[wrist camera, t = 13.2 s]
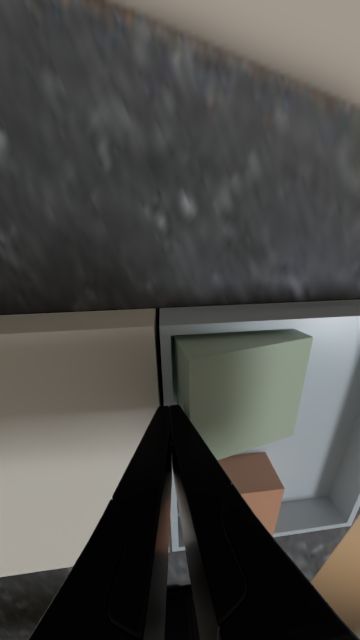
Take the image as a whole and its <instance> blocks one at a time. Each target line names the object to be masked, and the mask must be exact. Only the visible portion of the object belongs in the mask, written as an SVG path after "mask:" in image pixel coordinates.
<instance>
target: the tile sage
mask: <svg viewBox="0 0 360 640" xmlns="http://www.w3.org/2000/svg"><path fill="white" fill-rule="evenodd" d="M173 340H174V359H175V377H176V396H177V404H178V405H180V406H181V408H182V409H183V411H184V412H185V414H186V415H187V416H188V418H189V419H190V421H191V422H192V424H193V425H194V427H195V428H196V430H197V431H198V433H199V434H200V436H201V437H202V438H203V440H204V441H205V443H206V444H207V446H208V447H209V449H210V450H211V452H212V453H213V455H214V456H215V458H216V459H217V460H220V459H223V458H226V457H229V456H232V455H235V454H238V453H241V452H244V451H247V450H250V449H253V448H256V447H259V446H262V445H265V444H268V443H272V442H275V441H278V440H281V439H284V438H287V437H290V436H293V434H294V429H295V424H296V419H297V414H298V409H299V404H300V399H301V395H302V390H303V385H304V380H305V375H306V370H307V365H308V360H309V356H310V351H311V346H312V341H313V337H312V336H310V335H307V334H305V333H303V332H300V331H298V330H296V329H278V330H260V331H242V332H224V333H206V334H188V335H176V336H173Z"/></svg>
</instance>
